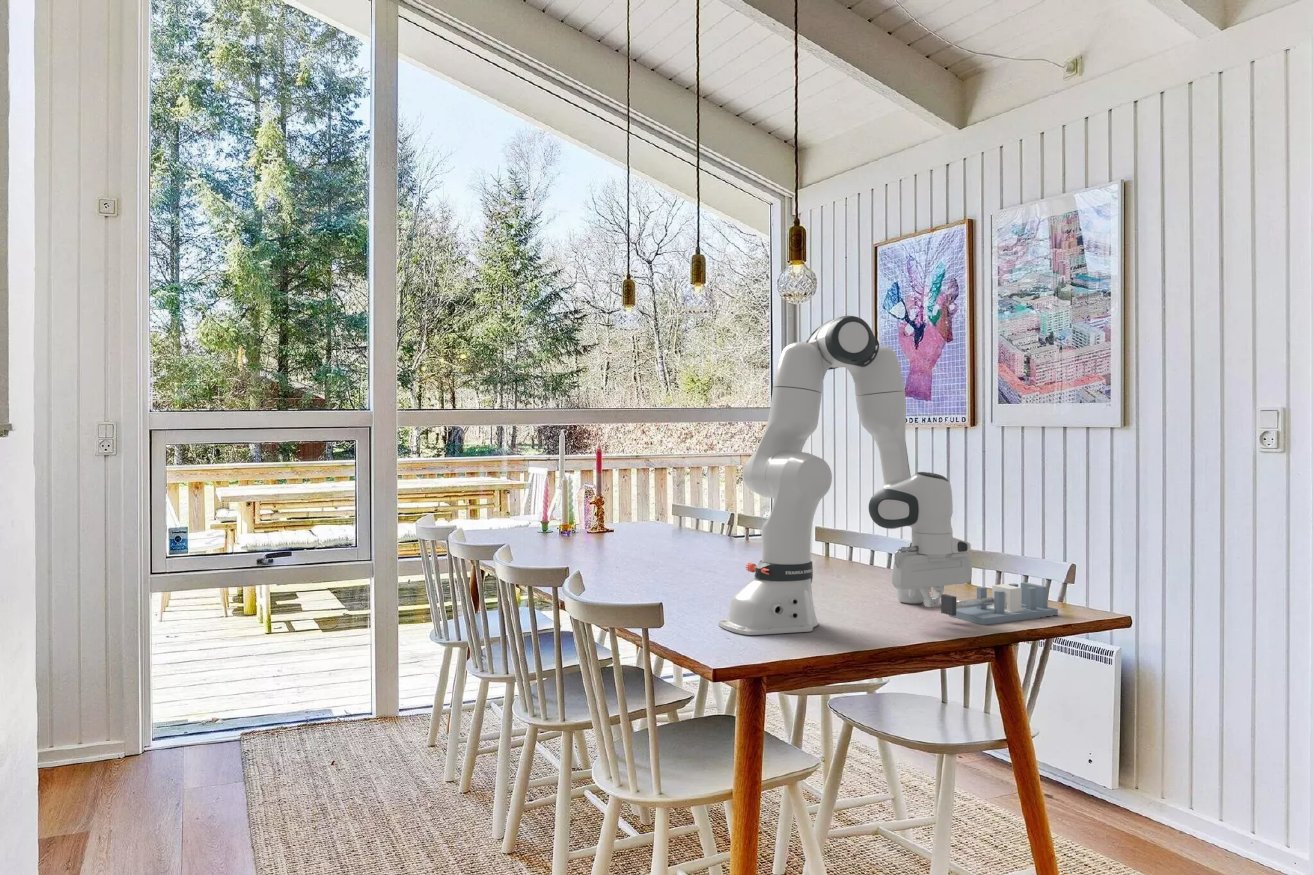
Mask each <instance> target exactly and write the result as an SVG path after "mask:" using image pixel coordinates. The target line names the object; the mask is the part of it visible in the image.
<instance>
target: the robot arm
mask: <svg viewBox="0 0 1313 875" xmlns="http://www.w3.org/2000/svg"><path fill="white" fill-rule="evenodd" d="M776 366H777V368H776V371H775V374H774V375H775V376H774V380H773V385H772V386H773V387H772V393H771V394H772V395H771V400H770V406H769V412H768V418H767V423H766V425H765V426H766V427H765V429H764V432H763V434H762V436H761V439H760V441H759V444H758V445H757V448H756V450H755V451H754V453H753V454H752V455H751V456H750V457H749V458H748V459H747V460H746V461H745V464H744V467H743V469H742V470H743V472H742V473H743V474H742V476H743V481H744V482H745V485H746V486H747V488H748V489H750V491H752V492H754V493H755V494H756V495H757V494H758V495H759V496H761V497H763V498H768V499H769V498H770V499H773V504H772V507H771V508H772V509H771V512H770V515H769V517H768V519H767V520H765V521H764V522H763V524H762V526H761V533H760V535H761V538H760V539H761V540H760V541H761V549H760V550H761V555H760V556H761V560H760V561H759V563H758V564H755V563H752V562H748V563H747V564H746V565H745V570H746V571H747V572H750V573H755V574H754V578H753V579H752V580H751V581H750V582H748V583H747V584H746V585H745V586H744V587H743V588H741V589H740V590H739V591H738V592H737V593H736V594H735V595H733V596H732V598H731V599H730V603H729V608H728V615H727V616H728V617H724V618H720V619H718V626H719V627H721V628H722V629H724V630H727V631H730V632H732V633H736V634H740V635H746V636H758V635H775V634H777V635H778V634H788V633H789V634H791V633H805V632H812V631H813V630H814V628H815V627H817V626H819V622H818V619H817V616H816V611H815V605H814V598H813V590H812V582H813V579H814V575H813V574H814V569H813V561H812V559H811V558H812V556H811V555H812V554H811V553H812V552H811V551H812V548H811V547H812V527H813V522H814V518H815V515H816V510H817V509H818V506H819V504H820V502H821V500H822V499H823V498H824V497H825V496H826V495H827V494H828V492H829V491H830V489H831V486H832V482H833V474H832V469H831V467H830V465H829V463H828V462H827V461H826V460H825V459H823V458H821V457H819V456H817V455H815V454H813V453H809V452H802V451H803V448H804V446H805V444H806V442H807V440H808V439H809V437H810V436H811V435H812V434H814V432H815V431H816V429H817V427H818V425H819V418H820V409H821V402H822V395H823V387H824V380H825V376H826V374H827V372H828V370H829V371H830V370H835V369H839V368H846V370H847V371H848V372H849V373H850V375H851V376H852V380H853V383H854V392H855V403H856V408H857V409H856V410H857V413H858V417H859V419H860V420H859V421H860V423H861V425H862V428H864V429H865V430H866V431H867V433H868V434H870V435H871V437H872V439H874V441H875V443H876V445H877V448H878V451H879V458H880V465H881V471H882V479H883V485H882V488H880V489H878V490H877V491H876V492H875V493H874V494H872V496H871V497H870V500H869V502H868V513H869V516H870V518H871V520H872V521H873V522H874V523H875V525H876V526H879V527H881V528H884V529H887V530H895V529H899V528H904V527H910V528H911V546H902V547H899V549H898V550H896V552H895V553H894V556H893V558H894V560H893V565H892V573H891V584H892V586H893V587H894V588H895V589H896V588H898V589H902V590H907V589H917V588H920V592H921V594H922V596H923V597H924V601H923V604H924V607H927V608H932V607H939V606H941V595H942V594H943V593H944V592H945V586H953V585H963V584H964V585H965V584H969V583H970V582H971V579H972V577H973V576H972V572H973V571H972V570H973V569H972V567H973V566H972V557H971V554H970V553H969V552H970V551H971V549H972V548H971V543H970V542H968V541H966V540H965V541H964V540H962V539H960V538H956V537H953V527H952V518H953V517H952V516H953V514H954V513H953V512H954V510H953V508H954V506H953V494H952V493H953V492H952V485H951V483H950V481H949V479H948V478H947V477H945V476H944V475H941V474H938V473H934V472H926V471H918V472H916V473H914V474H913V475H911V470H910V463H909V455H908V449H907V448H908V447H907V442H906V441H907V440H906V424H907V423H906V417H907V405H906V404H907V402H906V399H907V398H906V390H905V383H904V377H903V373H902V372H903V371H902V368H901V365H900V362H899V358H898V356H897V354H896V352H895V351H894V350H893V349H892V348H891V347H889V346H885V345H880V343H879V340H878V339H877V338H876V336H875V335H874V332H873V330H872V328H871V327H870V326H869V324H868V323H867V322H866V321H865V319H862V318H861V317H859V316H855V315H841V316H839V317H837V318H833V319H831V320H827V321H826V322H825V323H823V324H822V325H819V327H817V328H816V329H815V330H814V331H813V332H812V333H811V334H810V336H809V337H808V339H807V340H806V341H797V342H796V341H795V342H792V343H789V344H788V345H786V346H785V347H784V348H783V350H782V351H781V355H780V356H779V360H778V364H777V365H776ZM932 589H933V590H934V591H933V594H932V595H931V594H930V593H931V592H932Z"/></svg>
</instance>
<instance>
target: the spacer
mask: <svg viewBox="0 0 1313 875" xmlns="http://www.w3.org/2000/svg"><path fill="white" fill-rule="evenodd" d="M991 587H992V591H991V592H992V593H991V597H993V598H994V591H1005V600H1004V607H1007V611H1018V610H1021V598H1022V588H1021V586H1018V587H1015V586H1010V585H1009V584H1004V583H1002V584H1001V583H1000V584H992V586H991ZM992 607H994V605H992Z"/></svg>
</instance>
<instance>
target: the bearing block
mask: <svg viewBox="0 0 1313 875" xmlns="http://www.w3.org/2000/svg"><path fill="white" fill-rule="evenodd" d="M1008 585H1010V586H1015V587H1019V584H1018V583H1008ZM1020 588H1022V598H1021V610H1018V611H1007V607H1004V600H1005V591H994V607H992V605H987V606H979V607H970V608H962V609H956V615H955V616H951V615H948V616H949V617H952V618H956V619H960V620H963V621H968V622H971V623H975V624H978V625H982V626H985V625H993V624H1002V623H1010V622H1016V621H1026V620H1033V619H1041V618H1040V617H1042V618H1047V617H1046V616H1050V617H1054V616H1053V615H1057V614H1058V615H1059V612H1058V610H1059V609H1058V608H1054V607H1050V606H1049V605H1048V593H1049V592H1048V591H1049V590H1048V588H1049V586H1045V585H1041V584H1036V583H1031V582H1026V581H1025V582H1024V581H1023V582H1020ZM987 594H988V587H985V586H977V587H976V599H979V598H988V597H987V596H988V595H987Z"/></svg>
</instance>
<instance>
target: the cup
mask: <svg viewBox="0 0 1313 875" xmlns="http://www.w3.org/2000/svg"><path fill="white" fill-rule="evenodd" d="M895 589H896V590H895V591H896V597H897V600H898V602H901V603H903V604H910V605H916V604H922V603H924V597H923V596H922V594H921V592H920V588H917V589H907V590H902V589H898V588H895Z"/></svg>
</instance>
